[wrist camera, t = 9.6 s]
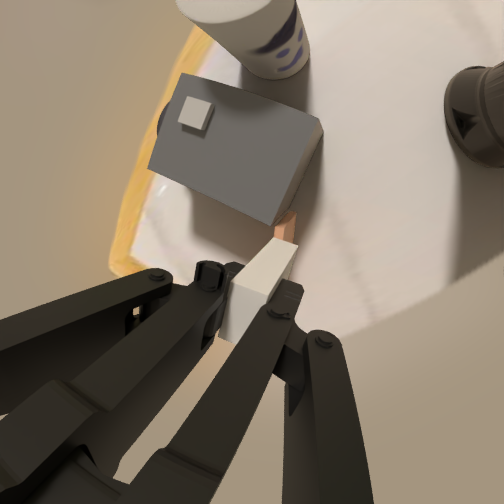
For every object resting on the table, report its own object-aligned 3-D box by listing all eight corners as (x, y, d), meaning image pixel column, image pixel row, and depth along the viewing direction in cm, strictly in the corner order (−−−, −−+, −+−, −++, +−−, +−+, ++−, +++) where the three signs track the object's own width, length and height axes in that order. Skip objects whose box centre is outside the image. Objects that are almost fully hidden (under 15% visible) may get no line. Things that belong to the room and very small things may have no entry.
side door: (289, 211, 40) (274, 226, 31) (303, 213, 40) (293, 229, 31) (277, 306, 45) (261, 343, 36) (290, 309, 45) (277, 346, 36)
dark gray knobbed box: (323, 131, 37) (318, 117, 25) (288, 208, 41) (268, 228, 29) (207, 88, 39) (160, 66, 27) (179, 159, 43) (127, 162, 32)
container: (294, 89, 36) (257, 32, 17) (231, 69, 37) (157, 17, 19) (319, 33, 32) (301, -49, 14) (256, 16, 33) (201, -57, 15)
